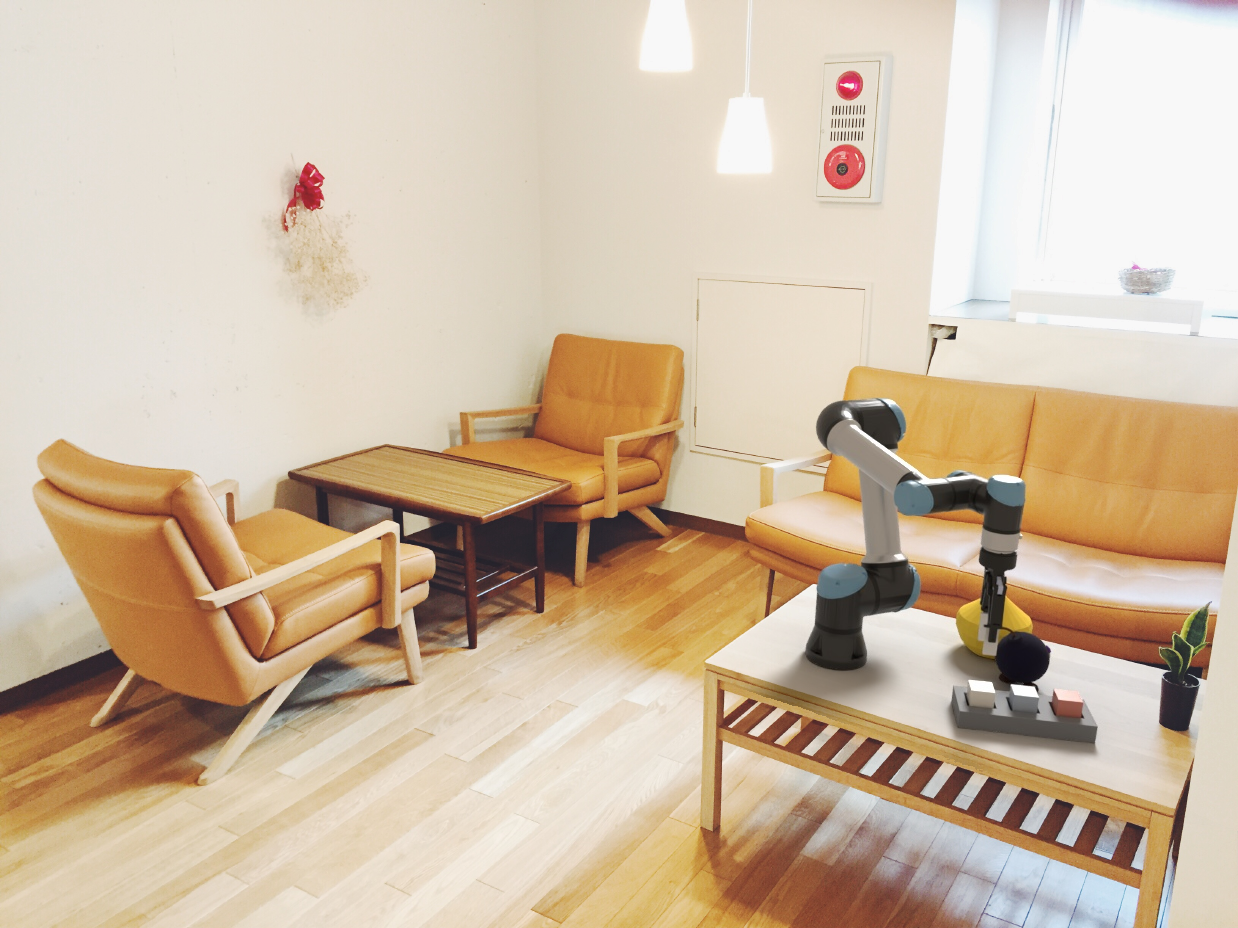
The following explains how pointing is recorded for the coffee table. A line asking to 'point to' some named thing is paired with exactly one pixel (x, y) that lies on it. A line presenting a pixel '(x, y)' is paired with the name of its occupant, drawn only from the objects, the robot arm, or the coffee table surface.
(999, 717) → the console
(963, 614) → the vase
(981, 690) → the key ivory
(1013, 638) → the toy
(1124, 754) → the coffee table surface
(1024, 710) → the key slate
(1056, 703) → the key brick
